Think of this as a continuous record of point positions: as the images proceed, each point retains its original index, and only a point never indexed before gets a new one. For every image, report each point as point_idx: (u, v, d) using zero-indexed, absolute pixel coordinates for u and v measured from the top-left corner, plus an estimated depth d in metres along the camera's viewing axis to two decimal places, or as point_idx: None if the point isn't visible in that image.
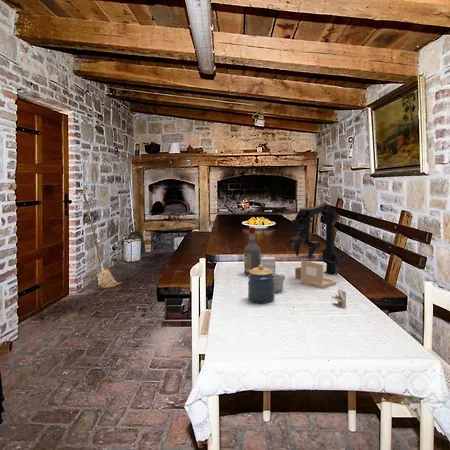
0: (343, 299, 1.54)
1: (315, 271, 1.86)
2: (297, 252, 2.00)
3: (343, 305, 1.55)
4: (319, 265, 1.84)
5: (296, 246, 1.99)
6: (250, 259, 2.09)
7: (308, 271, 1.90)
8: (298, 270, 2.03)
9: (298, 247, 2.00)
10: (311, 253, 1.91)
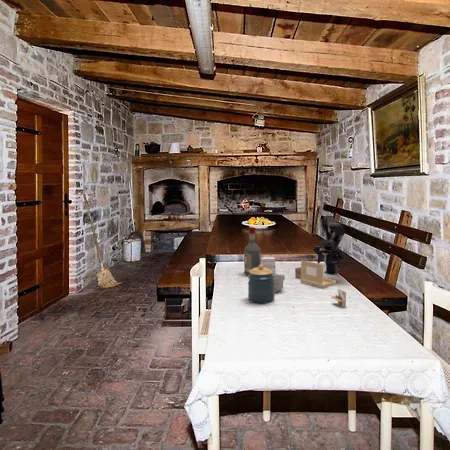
0: (343, 299, 1.54)
1: (315, 271, 1.86)
2: (319, 260, 1.97)
3: (343, 305, 1.55)
4: (319, 265, 1.84)
5: (321, 254, 1.98)
6: (250, 259, 2.09)
7: (308, 271, 1.90)
8: (298, 270, 2.03)
9: (322, 257, 1.99)
10: (330, 260, 1.92)
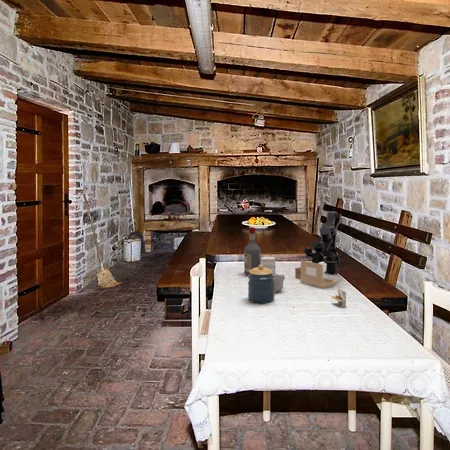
0: (343, 299, 1.55)
1: (315, 271, 1.86)
2: None
3: (343, 305, 1.55)
4: (319, 265, 1.84)
5: (315, 257, 1.90)
6: (250, 259, 2.09)
7: (308, 271, 1.90)
8: (298, 270, 2.03)
9: None
10: (316, 261, 1.88)
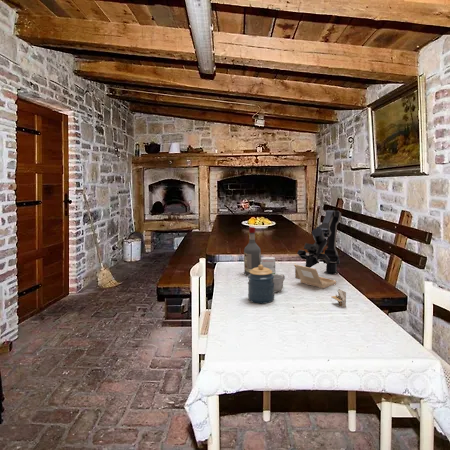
0: (343, 299, 1.55)
1: (311, 274, 1.84)
2: None
3: (343, 305, 1.55)
4: (312, 269, 1.81)
5: (309, 259, 1.88)
6: (250, 259, 2.09)
7: (304, 273, 1.88)
8: None
9: None
10: (310, 264, 1.85)
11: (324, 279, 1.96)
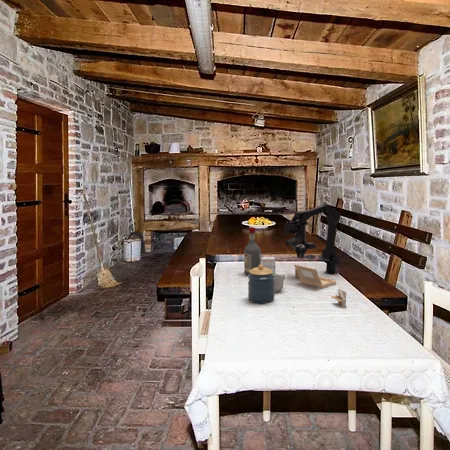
0: (343, 299, 1.55)
1: (311, 274, 1.84)
2: (299, 254, 2.04)
3: (343, 305, 1.55)
4: (312, 269, 1.81)
5: (297, 249, 2.03)
6: (250, 259, 2.09)
7: (304, 273, 1.88)
8: None
9: (299, 249, 2.04)
10: (303, 253, 2.01)
11: (324, 279, 1.96)
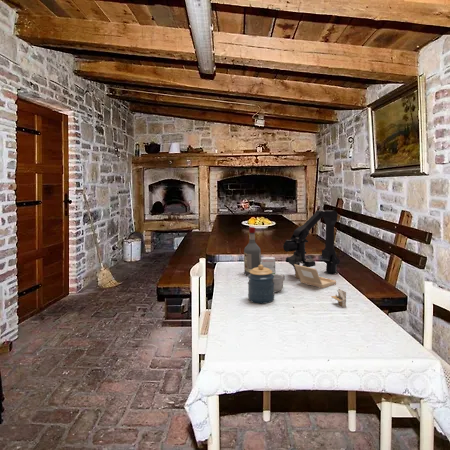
0: (343, 299, 1.55)
1: (311, 274, 1.84)
2: None
3: (343, 305, 1.55)
4: (312, 269, 1.81)
5: None
6: (250, 259, 2.09)
7: (304, 273, 1.88)
8: None
9: None
10: None
11: (324, 279, 1.96)
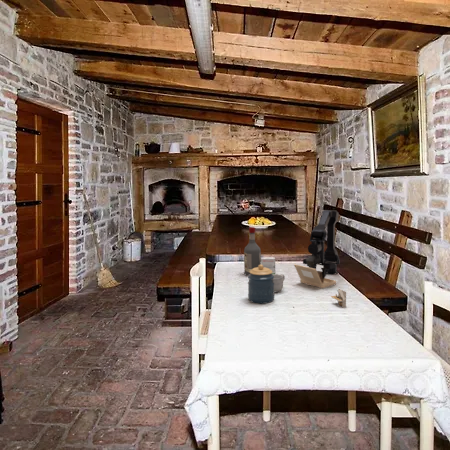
0: (343, 299, 1.55)
1: (311, 274, 1.84)
2: None
3: (343, 305, 1.55)
4: (312, 269, 1.81)
5: (312, 267, 1.95)
6: (250, 259, 2.09)
7: (304, 273, 1.88)
8: None
9: (314, 268, 1.96)
10: (324, 273, 1.89)
11: (324, 279, 1.96)
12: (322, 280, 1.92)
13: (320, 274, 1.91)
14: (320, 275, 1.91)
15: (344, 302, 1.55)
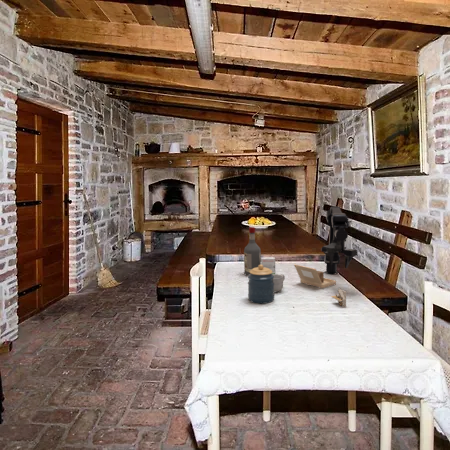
0: (343, 299, 1.55)
1: (311, 274, 1.84)
2: (331, 261, 1.85)
3: (343, 305, 1.55)
4: (312, 269, 1.81)
5: (330, 255, 1.84)
6: (250, 259, 2.09)
7: (304, 273, 1.88)
8: None
9: (332, 256, 1.86)
10: (348, 262, 1.76)
11: (324, 279, 1.96)
12: (322, 280, 1.92)
13: (320, 274, 1.91)
14: (320, 275, 1.91)
15: (344, 302, 1.55)
